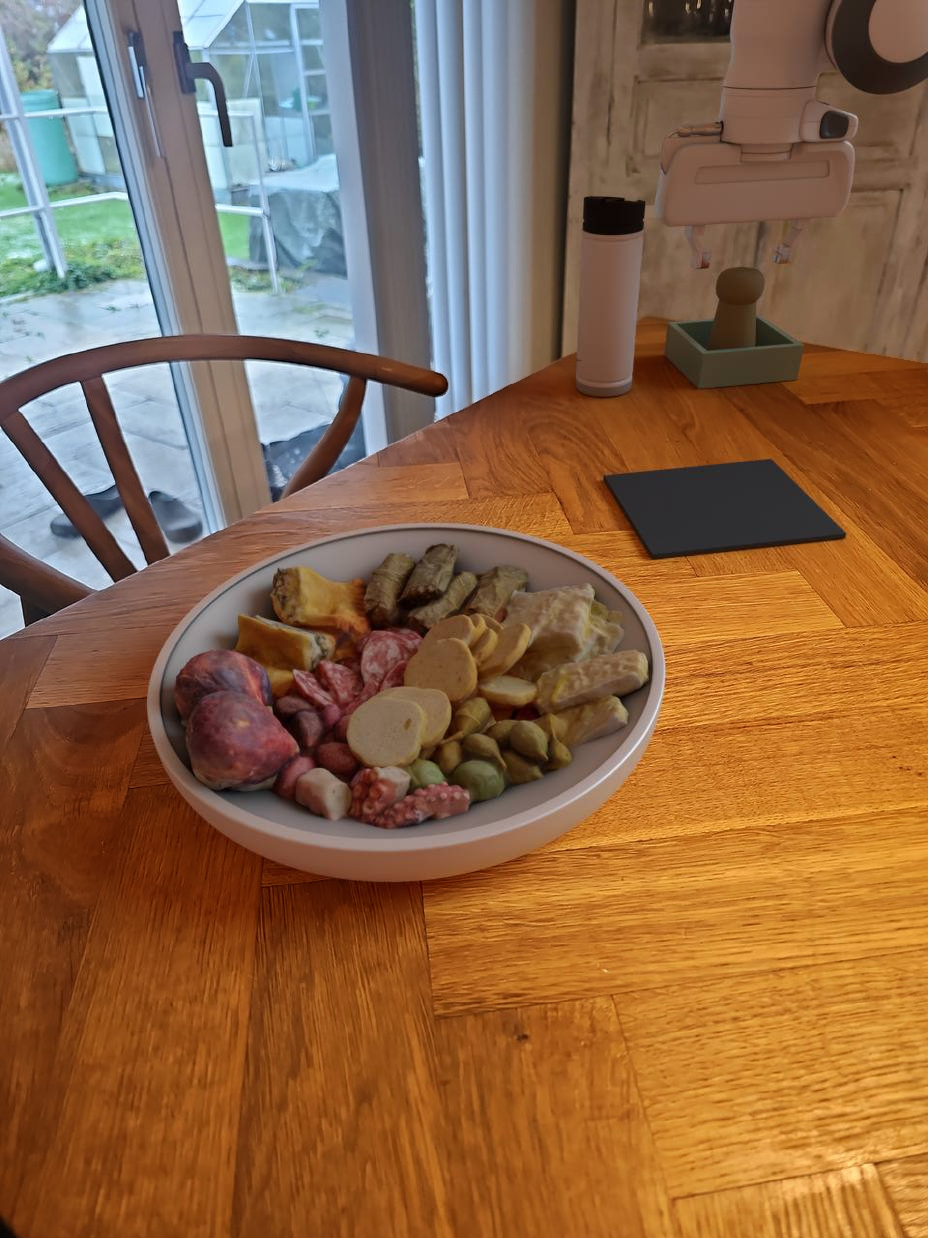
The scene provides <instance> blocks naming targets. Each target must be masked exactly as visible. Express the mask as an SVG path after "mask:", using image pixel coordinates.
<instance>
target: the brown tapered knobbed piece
mask: <svg viewBox="0 0 928 1238" xmlns="http://www.w3.org/2000/svg"><path fill="white" fill-rule="evenodd" d="M765 285H766V280H765V276H764V273H763V272H762V271H760V270H759V269H756V268H753V267H748V266H734V267H729V268H726V269H724V270H723V271H721V272H720V274H719V275H718V276H717V279H716V283H715V294H716V297H717V298H718V303H717V307H716V311H715V314H714V318H713V319H714V321H713V325H712V329H711V333H710V337H709V340H708V344H707V348H706V351H713V350H724V349H736V348H747V347H755V337H756V315H757V305H758V303H757V302H758V301H759V299H761V297H762V295H763V293H764V290H765Z"/></svg>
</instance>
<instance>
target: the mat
mask: <svg viewBox="0 0 928 1238" xmlns="http://www.w3.org/2000/svg"><path fill="white" fill-rule="evenodd" d="M603 481H604V483H605V485H606V487H607V488H608V489H609V491H610V493H611V495H612V496H613V498H614V499H615V502H616V503H617V505H618V506H619V508H620V510H621V511H622V513H623V514H624V515H625V518H626V519H627V521H628V522H629V524H630V526H631V528H632V529H633V531H634V533H635V534H636V536H637V538H638V539H639V541H640V543H641V544H642V546H643V547H644V549H645V551H646V552H647V554H648V556H649V557H650V559H651V560H659V559H667V558H668V559H669V558H677V557H687V556H697V555H705V554H712V553H713V554H714V553H722V552H723V553H724V552H734V551H741V550H749V549H750V550H751V549H761V548H770V547H779V546H787V545H797V544H806V543H816V542H824V541H825V542H826V541H833V540H841V539H846V537H847V532H846V531H845V530H844V529H843V528H842V527H841V526H840V525H839V524H838V523H837V522H836V521H835V520H834V519H833V518H832V517H831V516H830V515H828V513H827V512H826V511H824V509H823V508H821V506H820V505H819V504H818V503H816V501H815V500H814V499H813V498H812V497H811V496H810V495H809V494H808V493H807V492H806V491H805V490H804V489H803V488H801V486H800V485H798V483H796V481H795V480H794V479H792V478H791V477H790V476H789V475H788V474H787V473H786V471H784V470H783V469H782V468H781V467H780V466H779V465H778V464H777V463H776V462H775V461H774V459H772V458H765V459H753V460H746V461H745V460H744V461H735V462H734V461H733V462H725V463H724V462H723V463H714V464H704V465H694V466H693V465H692V466H684V467H675V468H664V469H653V470H643V471H633V472H625V473H622V472H621V473H614V474H604V475H603Z"/></svg>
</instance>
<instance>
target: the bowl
mask: <svg viewBox="0 0 928 1238" xmlns="http://www.w3.org/2000/svg"><path fill="white" fill-rule="evenodd" d="M662 643H663V642H662V640H661V637H660V634H659V631H658V630H657V627H656V625H655V623H654V621H653V619H652V617H651V615H650V614H649V612H648V611H647V609H646V608H645V606H644V605H643V604H642V602H641V601H640V600H639V599H638V598H637V596H636V595H635V594H634V593H633V592H632V591H631V590H630V589H629V587H627V586H626V585H625V584H624V583H623V582H622V581H621V580H620V579H618V578H617V577H616V576H615V575H613V574H612V573H611V572H609V571H608V570H606V569H605V568H603V567H602V566H601V565H599V564H597V563H595V562H594V561H593V560H591V559H589V558H587V557H585V556H584V555H581V554H579V553H577V552H575V551H573V550H571V549H569V548H568V547H567V548H566V547H564V546H562V545H560V544H557V543H554V542H552V541H549V540H546V539H543V538H541V537H540V538H539V537H537V536H533V535H529V534H527V533H523V532H518V531H514V530H509V529H504V528H499V527H493V526H487V525H479V524H469V523H457V522H410V523H409V522H407V523H395V524H386V525H385V524H384V525H378V526H371V527H363V528H359V529H358V528H357V529H353V530H347V531H343V532H340V533H335V534H331V535H326V536H323V537H320V538H317V539H313V540H310V541H307V542H304V543H300V544H298V545H295V546H292V547H290V548H287V549H285V550H282V551H280V552H276V553H275V554H273V555H270V556H268V557H266V558H263V559H262V560H260V561H258V562H256V563H254V564H252V565H250V566H249V567H246V568H245V569H243V570H241V571H240V572H238V573H236V574H235V575H233V576H231V577H230V578H228V579H227V580H226V581H224V582H222V583H221V584H220V585H218V586H217V587H216V588H214V589H213V590H212V591H210V592H209V593H208V594H206V596H204V597H203V598H202V599H200V600H199V602H197V603H196V604H195V605H194V606H193V607H192V608H191V609H190V610H189V611H188V612H187V613H186V614H185V615H184V617H183V618H181V620H180V622H178V624H177V625H176V626H175V627H174V629H173V630H172V632H171V633H170V634H169V636H168V637H167V639H166V641H165V642H164V644H163V645H162V647H161V649H160V651H159V653H158V655H157V657H156V660H155V661H154V664H153V668H152V671H151V673H150V678H149V681H148V686H147V694H146V713H147V722H148V726H149V731H150V735H151V738H152V741H153V744H154V748H155V749H156V752H157V755H158V757H159V759H160V762H161V764H162V766H163V769H164V771H165V772H166V774H167V775H168V777H169V779H170V781H171V782H172V784H173V785H174V786H175V788H176V790H177V791H178V792H179V794H180V795H181V796H182V797H183V799H184V800H185V801H186V802H187V804H189V806H191V808H192V809H193V810H194V811H195V812H196V813H197V814H198V815H199V816H200V817H201V818H202V819H203V820H204V821H205V822H207V823H208V824H209V825H210V826H212V827H213V828H214V829H215V830H217V831H218V832H220V833H221V834H222V835H224V836H225V837H226V838H228V839H230V840H231V841H233V842H234V843H236V844H238V845H240V846H242V847H243V848H244V849H247V850H248V851H250V852H252V853H255V854H256V855H259V856H261V857H263V858H266V859H268V860H270V861H272V862H275V863H277V864H280V865H283V866H286V867H290V868H293V869H296V870H299V871H301V872H306V873H310V874H314V875H318V876H324V877H329V878H333V879H334V878H335V879H342V880H350V881H360V882H374V883H375V882H376V883H377V882H378V883H400V882H401V883H402V882H403V883H404V882H417V881H428V880H437V879H443V878H449V877H455V876H459V875H464V874H470V873H473V872H477V871H481V870H484V869H488V868H492V867H495V866H497V865H500V864H503V863H506V862H510V861H512V860H515V859H517V858H520V857H522V856H524V855H527V854H529V853H531V852H534V851H536V850H538V849H540V848H542V847H544V846H546V845H547V844H550V843H551V842H553V841H555V840H557V839H558V838H560V837H561V836H563V835H565V834H567V833H568V832H570V831H571V830H573V829H575V827H577V826H579V825H580V824H581V823H582V822H584V821H585V820H586V819H588V818H589V817H591V816H592V815H593V814H594V813H595V812H596V811H598V810H599V809H600V808H601V807H602V806H603V805H604V804H605V803H607V801H609V799H610V798H612V797H613V796H614V794H615V793H616V792H617V791H618V790H619V789H620V788H621V787H622V786H623V785H624V784H625V782H626V781H627V779H628V778H629V776H630V775H631V774H632V772H633V771H634V769H636V767H637V766H638V764H639V762H640V761H641V759H642V758H643V756H644V754H645V752H646V750H647V748H648V746H649V744H650V742H651V740H652V738H653V735H654V732H655V730H656V727H657V724H658V721H659V718H660V714H661V710H662V704H663V699H664V694H665V693H664V692H665V685H666V658H665V652H664V649H663V644H662Z"/></svg>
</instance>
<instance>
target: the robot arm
mask: <svg viewBox="0 0 928 1238" xmlns="http://www.w3.org/2000/svg"><path fill="white" fill-rule="evenodd" d="M731 13H732V14H731V21H730V29H729V40H730V52H731V53H730V59H729V64H728V68H727V71H726V73H725V75H724V78H723V82H722V88H721V98H720V106H719V113H718V121H709V122H702V123H695V124H692V123H682V124H678V125H677V126H676V128H674V129H672V130H671V131H669V132H668V133H667V134H666V135H665V137H664V138H663V140H662V142H661V146H660V156H659V166H660V170H661V171H660V174H659V178H658V183H657V187H656V193H655V199H654V205H653V206H654V207H653V213H654V215H655V217H656V218H657V220H658V222H660V223H661V224H662V225H664V226H666V227H668V228H675V227H677V228H678V227H684V232H683V233H684V235H685V237H686V240H687V242H688V245H689V248H690V249H691V259H690V267H691V268H692V269H694V270H705V269H707V270H708V269H709V268H710V266H711V263H710V260H711V257H712V252H711V251H710V250H708V249H707V248H704V247H703V245H702V242H701V240H700V237H703V236H704V235H705V229H706V226H707V225H723V224H724V225H725V224H727V225H728V224H741V223H742V224H743V223H759V222H774V221H788V222H787V223H788V224H787V226H788V227H790V230H789V231H788V233H787V234H786V237H784V240H783V241H782V243H775V244H774V249H773V251H774V253H773V255H772V261H773V263H776V264H777V265H783V264H792V262H793V259H794V254H795V249H796V247H797V246H798V245H799V244H800V242H801V241H802V239H803V238H804V237H805V235H806V234H807V232H808V231H809V230H810V225H811V220H812V219H824V218H836V217H837V218H838V217H839V215H841V214H842V212H843V211H844V210H845V209H846V207H847V206H848V204H849V200H850V196H851V191H852V185H853V179H854V171H855V162H856V153H855V148H854V146H853V145H852V143H851V142H849V141H850V140H852V139H853V138H854V137H855V136H856V133H857V131H858V128H859V118H858V116H857V115H856V114H854V113H851V112H848V111H845V110H842V109H840V108H838V107H834V106H831V105H830V103H827V102H825V101H819V100H816V92H817V85H818V80H819V77H820V75H821V74H822V73H824V72H825V71H826V72H827V71H836V72H839V73H840V74H841V75H842V77H843V78H844V79H845V81H847V82H848V83H849V84H850V85H851V86H852V87H854V88H855V89H857V90H859V91H860V92H863V93H866V94H869V95H870V94H871V95H880V96H885V95H894V94H897V93H901V92H904V91H907V90H909V89H911V88H913V87H915V86H917V85H919V84H921V83H922V82H924V81H925V80H926V79H928V0H734V1H733V7H732V12H731ZM674 135H676V136H674Z"/></svg>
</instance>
